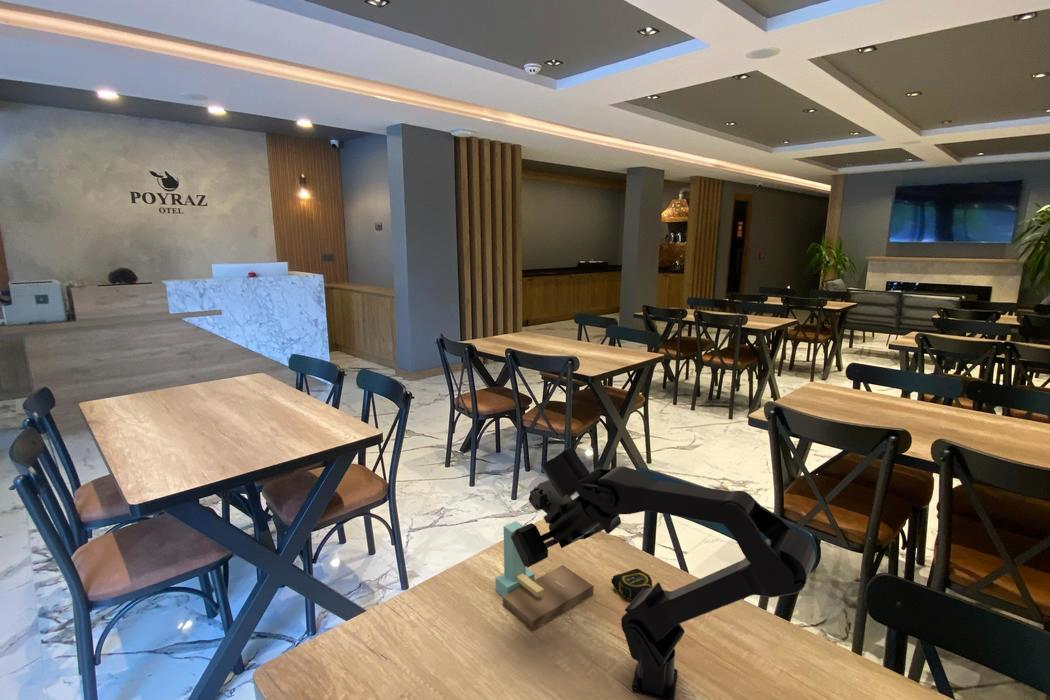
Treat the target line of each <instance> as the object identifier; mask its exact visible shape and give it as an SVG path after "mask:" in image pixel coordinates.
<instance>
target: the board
mask: <svg viewBox="0 0 1050 700" xmlns="http://www.w3.org/2000/svg"><path fill="white" fill-rule="evenodd" d="M533 581H534V582H535V583H536V584H538V585H539V586H540V587H542V588H543V589H544V594H542V595H541V596H539V597H537V596H535V595H534V594H533V593H531V592H530V591H529V590H528V589H526V588H525V587H524V586H522V587H520V588H518V589H516V590H514V591H512V592H510V593H508V594H506V595H504V596H503V597H502V605H503V607H504V608H506V610H508V611H509V612H510V613H511V614H513V616H515V617H516V618H517V619H518V620H519V621H520V622H521V623H522V624H524V625H525V626H526V627H527V628H528V629H529V630H530V631H532V632H533V631H534V630H535V629H536V630H537V629H538V628H540V627H542V626H543V625H545V624H547V623H548V622H550V621H551V620H553V619H554V618H556V617H558V616H560V615H561V614H563V613H565V612H566V611H568V610H570V609H571V608H574V607H575V606H576V605H578V604H579V603H581V602H583V601H585V600H586V599H587V600H588V598H590V597H591V596H593V595H594V587H595V586H594V585H593V584H591V583H590V582H589V581H587V580H586V579H584V578H583V577H582V576H580V575H579V574H577V573H576V572H574V571H573V570H571V569H570V568H568V567H566V566H565V565H560V566H559V567H557V568H554V569H553V570H551V571H549V572H547V573H545V574H543V575H541V576H539V577H538V578H536V579H535V580H533Z"/></svg>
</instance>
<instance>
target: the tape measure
mask: <svg viewBox="0 0 1050 700" xmlns="http://www.w3.org/2000/svg"><path fill="white" fill-rule="evenodd" d="M610 579H611V581H610V582H611V584H612V586H613V588H614V589H615V590H616V591H619V593H620V594H621V596H622V597H623V598H625V599H628V600H629V601H633V600H634V598H635V597H636V596H637V595H638V594H639V593H640V591H641V590H642V589H643V588H651V587H653V579H652V578H651V576H650V575H649V574H648V573H646V572H644V571H642V570H641V569H639V568H634V569H631V570H629V571H624V572H622V573H618V574H615V575H613V577H612V578H610Z"/></svg>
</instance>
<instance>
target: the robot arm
mask: <svg viewBox="0 0 1050 700" xmlns="http://www.w3.org/2000/svg"><path fill="white" fill-rule="evenodd" d="M582 461H583V460H581V458H579V456H578V453H577V451H576V450H575V449H574V447H573V446H570V447H567V448H566V449H564V450H563V451H562V452H560V453H558V455H556V456H554V457H553V458H551V459H549V460H548V461H546V462H545V463H543V465H542V466H541V467H540V469H541V471H543V473H544V474H545V475H544V476H546V477H547V479H548V480H545V481H543V482H539V483H538V484H537V486H536V487H535V486H534V487H533V489H532V490H530V492H529V493H530V494H529V497H528V501H529V503H530V504H531V506H532V507H533V508H534V509H535V511H540V510H542V511H543V512H544V513H545V515H544V516H543V519H544V521H545V523H546V524H548V530H549V531H548V532H545V533H543V534H541V533H540V531H539V529H538V527H537V525H535V524H534V523H533V522H530V523H528V524H526V525H523V527H521V528H519V529H516V530H515V531H514V532H513V533H512V534H511V539H512V541H513V543H514V546H515V548H516V550H517V552H518V554H519V556H520V558H521V561H522V563H523V565H524V566H526V568H530V567H533V566H534V565H536V564H538V563H540V562H543V561H544V560H546V559H547V558H549V548H551V547H553V546H556V545H557V544H559V547H560V548H561V549H563V548H565V547H567V546H570V545H572V544H573V543H576V542H577V541H579V540H587V539H588V538H590V537H593V536H594V535H597V534H599V533H601V532H602V531H604V532H605V533H606V534H607V535H609V534H610V533H612V531H614V530H615V529H616V528H618V526H620V525H621V523H622V519H621V517H620V515H632V514H638V513H642V512H649V513H650V512H653V513H657V514H662V515H668V516H674V517H678V518H683V519H689V520H695V521H701V522H706V523H711V524H717V525H721V526H724V527H725V528H726V530H728V531H729V532H730V533H731V534H732V536H733V538H734V540H735V542H736V543H737V545H738V546H739V548H740V551H741V552H742V554H743V556H744V558H743V559H742V560H740V561H737V562H735V563H733V564H730V565H728V566H726V567H723V568H722V569H719V570H717V571H714V572H712V573H710V574H708V575H706V576H704V577H701V578H699V579H697V580H694V581H693V582H689V583H687V584H685V585H683V586H681V587H679V588H677V589H674V590H671V591H670V590H665V589H663V586H662V585H661V583H660V582H656V583H655V584H654V585H652V587H651V588H643V589H642V590H641V591H640V593H639V594H638V595H637V596H636V597H635V598H634V600H631V602H629V604H628V605H627V607H625V608H624V611H625V614H623V615H622V617H621V619H620V621H621V623H620V625H621V630H622V631H623V634H624V636H625V640H626V643H627V647H628V650H629V653H630V657H631V659H633V660H635V661H637V663H636V667H635V671H634V675H633V680H632V685H631V690H632V692H634V693H638V694H641V695H645V696H648V697H652V698H655V699H658V700H675V698H676V697H675V696H676V688H677V680H678V672H679V671H678V670H677V669H676V668H675V660H676V649H675V648H676V647H677V644H678V643H679V642H680V641H681V640H682V638H683V637H684V634H685V633H686V632H685V629H684V627H683V626H682V623H685V622H687V621H690V620H692V619H696V618H698V617H700V616H703V615H706V614H708V613H711V612H713V611H715V610H718V609H721V608H724V607H725V606H729V605H732V604H734V603H735V602H736V603H737V602H738V601H741V600H744V599H747V598H749V597H752V596H760V597H765V598H778V597H784V596H790V595H795V594H797V593H799V592H801V591H802V590H803V589H804V588H805V586H806V584H807V581H808V579H809V578H810V577H809V576H810V573H811V571H812V569H813V566H814V564H815V563H816V562H815V561H816V556H817V555H816V551H815V548H814V546H813V544H812V543H811V541H810V540H809V539H808V538H807V537H806V536H804V535H803V534H801V533H800V532H797V531H795V530H794V529H793V528H792V527H791V526H790V525H789V524H788V523H787V522H786V521H785V520H784V519H783V518H782V517H781V516H779V514H776V513H774V512H773V511H771V510H770V509H768V508H766V507H764V506H763V505H761V504H760V503H759V502H758V501H757V500H756V499H755V498H754V497H753V495H751V494H749V493H748V492H747V491H744V490H724V489H718V488H711V487H706V486H705V487H704V486H699V485H698V486H697V485H690V484H683V483H676V482H671V481H670V482H669V481H664V480H663V481H662V480H657V479H654V478H652V477H650V476H649V475H648V474H646V473H644V472H643V471H641V470H637V469H634V468H631V467H627V466H624V465H621V466H616V467H615V468H605V467H596V468H594V469H593V470H592V471H591V472H590V471H589V470H588V468H587V467H586V465H585V464H584V462H582ZM576 493H577V494H578V495H577V496H576V497H575V498H574V499H573V498H572V496H573V495H574V494H576ZM764 536H765V537H766V539H765V538H764Z"/></svg>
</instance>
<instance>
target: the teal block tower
mask: <svg viewBox="0 0 1050 700" xmlns="http://www.w3.org/2000/svg"><path fill="white" fill-rule="evenodd" d="M523 526H524V525H523V524H521V523H520V522H518V521H517V520H515V521H513V522H511V523H508V524H506V525H504V526H503V563H504V564H503V565H504V566H503V567H504V571H503V572H504V573H503V574H500V575H498V576H497V577H495V592H496V593H498V594H499V595H500V596H501V597H502V598H503V596H504V595H506V594H508V593H510V592H512V591H514V590H516V589H518V588H520V587H522V586H524V587H525V588H526V589H528V590H529V591H530V592H531V593H533V594H534V595H535V596H537V597H539V596H541V595H542V594H544V589H543V588H542V587H540V586H539V585H538V584H536V583H535V582H534V581H533V580H535V578H536V577H535V572H533V571H532V570H530V569H529V568H528V567H526V566H524V565H523V563H522V561H521V558H520V556H519V554H518V552H517V550H516V548H515V546H514V543H513V541H512V539H511V534H512V533H513V532H514V531H515V530H516V529H519V528H521V527H523Z"/></svg>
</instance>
